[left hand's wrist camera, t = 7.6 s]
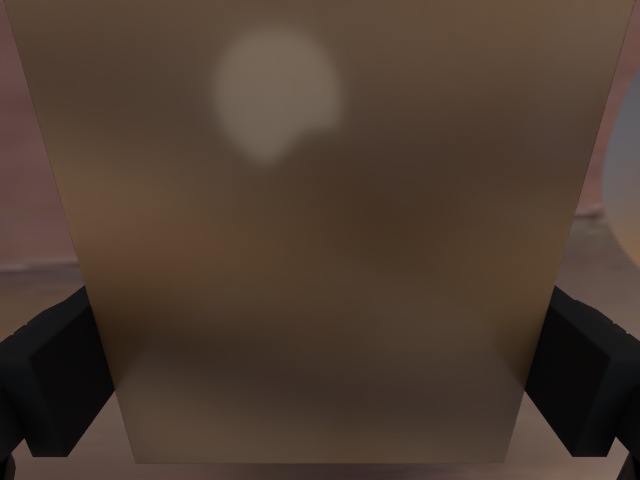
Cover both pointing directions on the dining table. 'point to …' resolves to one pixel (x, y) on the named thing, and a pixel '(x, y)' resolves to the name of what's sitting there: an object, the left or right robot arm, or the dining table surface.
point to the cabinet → (319, 211)
